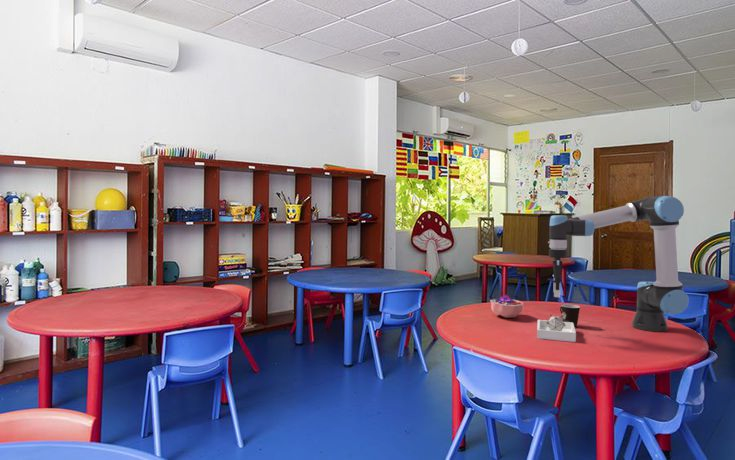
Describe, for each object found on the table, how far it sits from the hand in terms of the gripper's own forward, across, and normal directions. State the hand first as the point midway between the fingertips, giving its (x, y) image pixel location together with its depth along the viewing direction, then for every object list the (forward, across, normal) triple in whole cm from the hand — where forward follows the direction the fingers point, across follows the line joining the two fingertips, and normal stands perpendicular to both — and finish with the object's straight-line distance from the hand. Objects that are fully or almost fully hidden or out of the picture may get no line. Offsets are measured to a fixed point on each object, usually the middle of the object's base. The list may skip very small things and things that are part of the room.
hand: (556, 294), depth 226 cm
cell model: (+19, -30, -24) cm, 43 cm away
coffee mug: (+19, -22, +7) cm, 30 cm away
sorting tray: (+19, 0, 0) cm, 19 cm away
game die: (+18, 0, 0) cm, 18 cm away
